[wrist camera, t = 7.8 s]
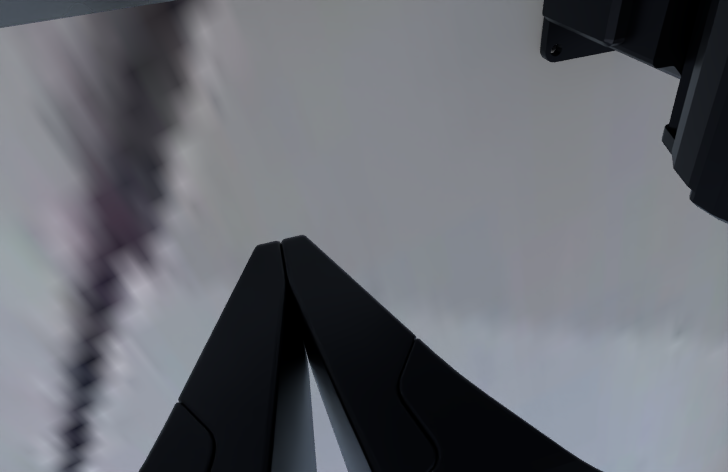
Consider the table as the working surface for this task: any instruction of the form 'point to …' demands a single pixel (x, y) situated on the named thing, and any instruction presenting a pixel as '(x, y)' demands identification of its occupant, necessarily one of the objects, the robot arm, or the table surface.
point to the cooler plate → (58, 9)
